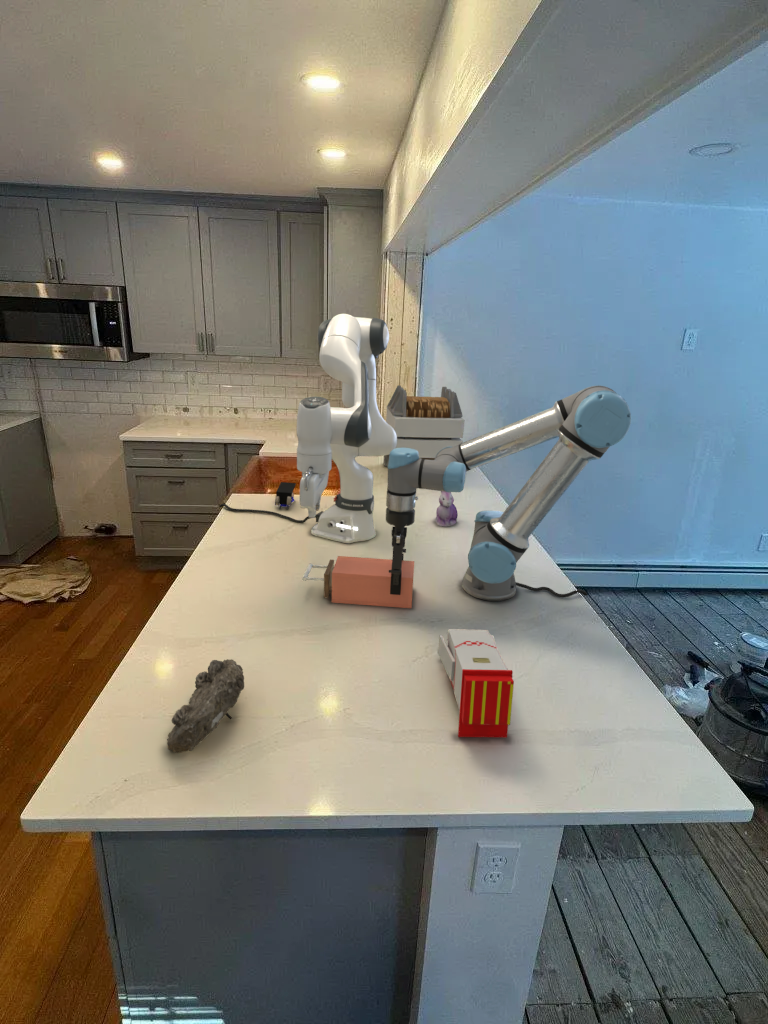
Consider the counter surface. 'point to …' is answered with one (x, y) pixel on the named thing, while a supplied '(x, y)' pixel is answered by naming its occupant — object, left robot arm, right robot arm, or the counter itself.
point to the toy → (478, 682)
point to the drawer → (326, 579)
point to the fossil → (206, 705)
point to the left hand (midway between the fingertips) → (314, 513)
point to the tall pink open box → (370, 582)
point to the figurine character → (285, 494)
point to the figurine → (446, 510)
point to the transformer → (425, 422)
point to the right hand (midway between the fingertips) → (396, 584)
